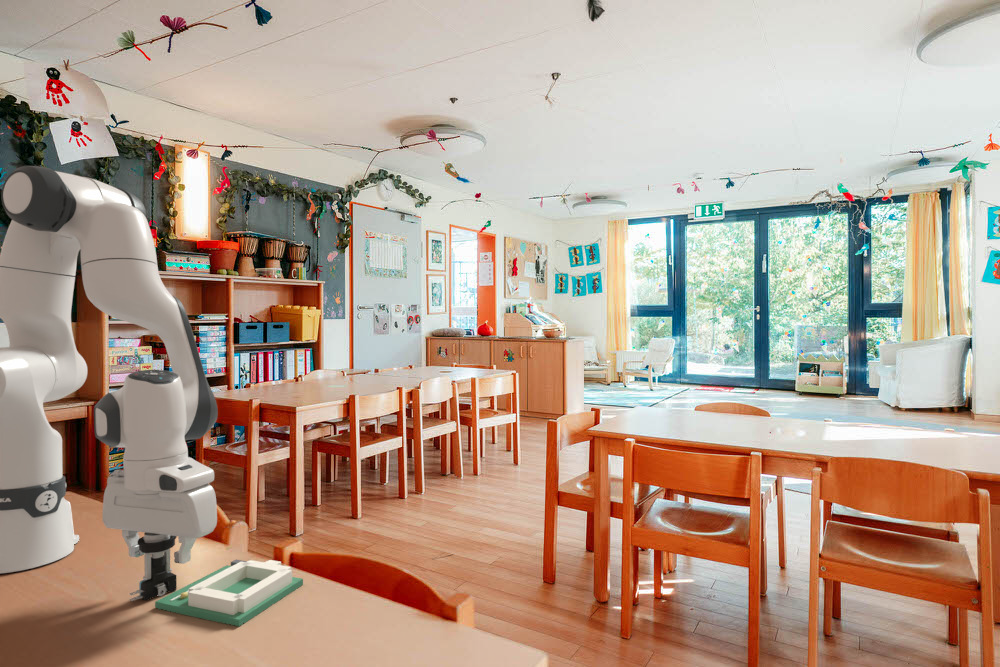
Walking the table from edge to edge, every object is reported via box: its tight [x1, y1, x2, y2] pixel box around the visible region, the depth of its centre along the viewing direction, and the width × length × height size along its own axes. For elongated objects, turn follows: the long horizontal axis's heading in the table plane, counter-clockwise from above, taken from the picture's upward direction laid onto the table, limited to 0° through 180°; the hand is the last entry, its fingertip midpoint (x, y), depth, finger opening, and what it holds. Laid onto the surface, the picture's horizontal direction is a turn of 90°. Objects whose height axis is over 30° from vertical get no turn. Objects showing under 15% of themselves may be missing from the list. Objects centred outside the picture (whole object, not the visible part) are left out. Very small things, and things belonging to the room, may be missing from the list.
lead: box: [230, 559, 247, 566], centre depth 100 cm, size 10×1×1 cm, turn 71°
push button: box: [129, 532, 178, 602], centre depth 91 cm, size 7×5×10 cm
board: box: [154, 559, 304, 627], centre depth 91 cm, size 16×14×3 cm
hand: (159, 559), depth 91 cm, fingers open, 8 cm apart
